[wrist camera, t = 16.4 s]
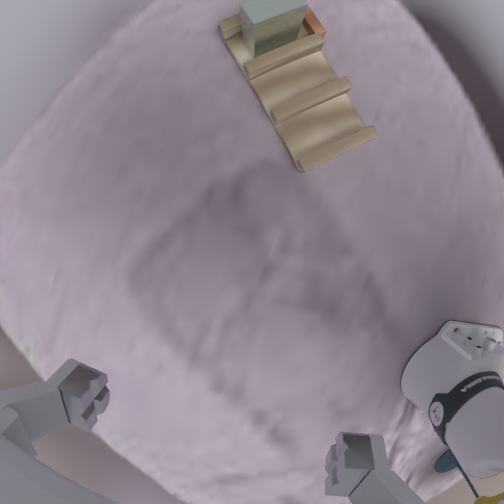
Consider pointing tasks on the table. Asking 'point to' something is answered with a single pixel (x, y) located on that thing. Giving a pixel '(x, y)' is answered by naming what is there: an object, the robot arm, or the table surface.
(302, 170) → the rack
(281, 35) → the block
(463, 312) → the table surface
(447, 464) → the cocktail glass
